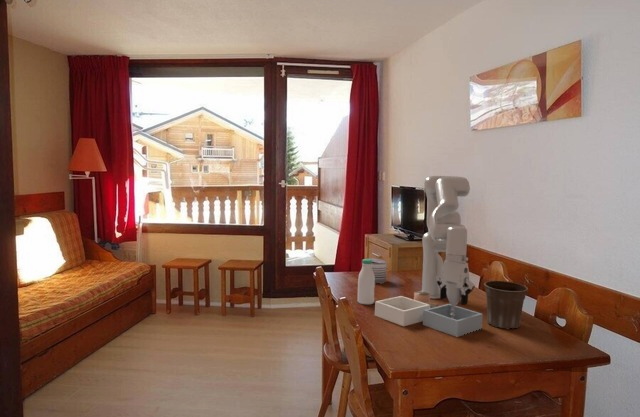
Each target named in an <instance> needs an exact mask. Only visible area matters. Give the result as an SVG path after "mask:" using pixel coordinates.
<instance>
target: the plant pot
mask: <svg viewBox="0 0 640 417" xmlns="http://www.w3.org/2000/svg"><path fill="white" fill-rule="evenodd" d="M483 285H484V287H485V294H486V319H487V320H486V322H487V324H488V325H491V326H492V327H494V326H495V327H494V328H497V327H500V328H499V329H501V328H512V329H514V328H517V327H519V328H520V325H521V318H522V311H523V307H524V301H525V299H526V295H527V292H528V290H529V288H528V287H527V286H526V285H523V284H521V283H516V282H512V281H508V280H506V281H504V280H489V281H485V282H484V284H483ZM517 329H518V328H517Z"/></svg>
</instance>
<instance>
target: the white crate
mask: <svg viewBox="0 0 640 417" xmlns="http://www.w3.org/2000/svg"><path fill="white" fill-rule="evenodd" d="M374 304H375V305H374V317H378V318H380V319H382V320H385V321H388V322H390V323H393V324H396V325H399V326H401V327H406V326H410V325H414V324H417V323H421V322H423V311H424V310H426V309H430V305H429V304H426V303H423V302H419V301H416V300H414V298H413V299H412V298H410V297H406V296H403V295H399V296H395V297H389V298H384V299H381V300H376V301H375V300H374Z"/></svg>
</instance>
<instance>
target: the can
mask: <svg viewBox="0 0 640 417" xmlns="http://www.w3.org/2000/svg"><path fill="white" fill-rule="evenodd" d="M370 259H371V260H372V270H373V273H374V276H375V284H376V283H380V284H385V283H386V282H387V261H386V260H383V259H377V258H370ZM384 282H385V283H384Z"/></svg>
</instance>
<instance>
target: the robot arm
mask: <svg viewBox="0 0 640 417" xmlns="http://www.w3.org/2000/svg"><path fill="white" fill-rule="evenodd" d="M423 184H424V186H423V187H424V192H425V195H426V199H427V209H426V210H427V211H426V226H427V227H428V228H429V231H428V232H425V233H424V234H423V235H422V238H421V239H422V240H421V241H422V252H423V254H422V255H423V257H422V261H423V262H422V276H421V277H422V278H421V290H419V291H418V292H427V293H430V299H436V300H437V299H440V300H443V299H447V294H446V291H447V282H448V283H452V284H457V285H456V288H458V289H460V290H461V291H462V295H461V298H460V305H461V306H465V305H468V301H469V295H470V294H471V293H472V292H473V290H474V289H475V286H476V285H475V283H473V281H471V280H470V270H469V263H468V260H469V257H467V243H468V242H467V241H468V230H467V228H466V226H465V225H464V224H462V219H461V215H460V212H459V211H457V210H458V208H459V205H460V204H459V199H458V197H461V198H462V197H467V196H468V195H469V193H470V189H471V187H470V182H469V180H468V179H467V178H466V177H464V176H457V175H456V176H455V175H454V176H452V175H450V176H449V175H447V176H446V175H430V176H427V177H426V178H425V179H424V183H423ZM442 252H443V253H445V259H444V260H443V258H442V256H441V255H440V254H439V253H442Z"/></svg>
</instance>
